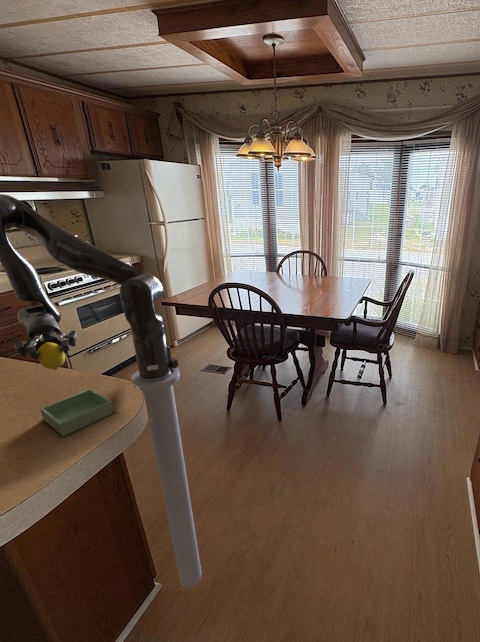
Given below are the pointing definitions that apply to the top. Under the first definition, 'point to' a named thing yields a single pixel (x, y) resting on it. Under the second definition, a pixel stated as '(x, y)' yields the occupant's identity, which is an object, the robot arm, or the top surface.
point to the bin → (76, 411)
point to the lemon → (51, 355)
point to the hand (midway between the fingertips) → (50, 352)
